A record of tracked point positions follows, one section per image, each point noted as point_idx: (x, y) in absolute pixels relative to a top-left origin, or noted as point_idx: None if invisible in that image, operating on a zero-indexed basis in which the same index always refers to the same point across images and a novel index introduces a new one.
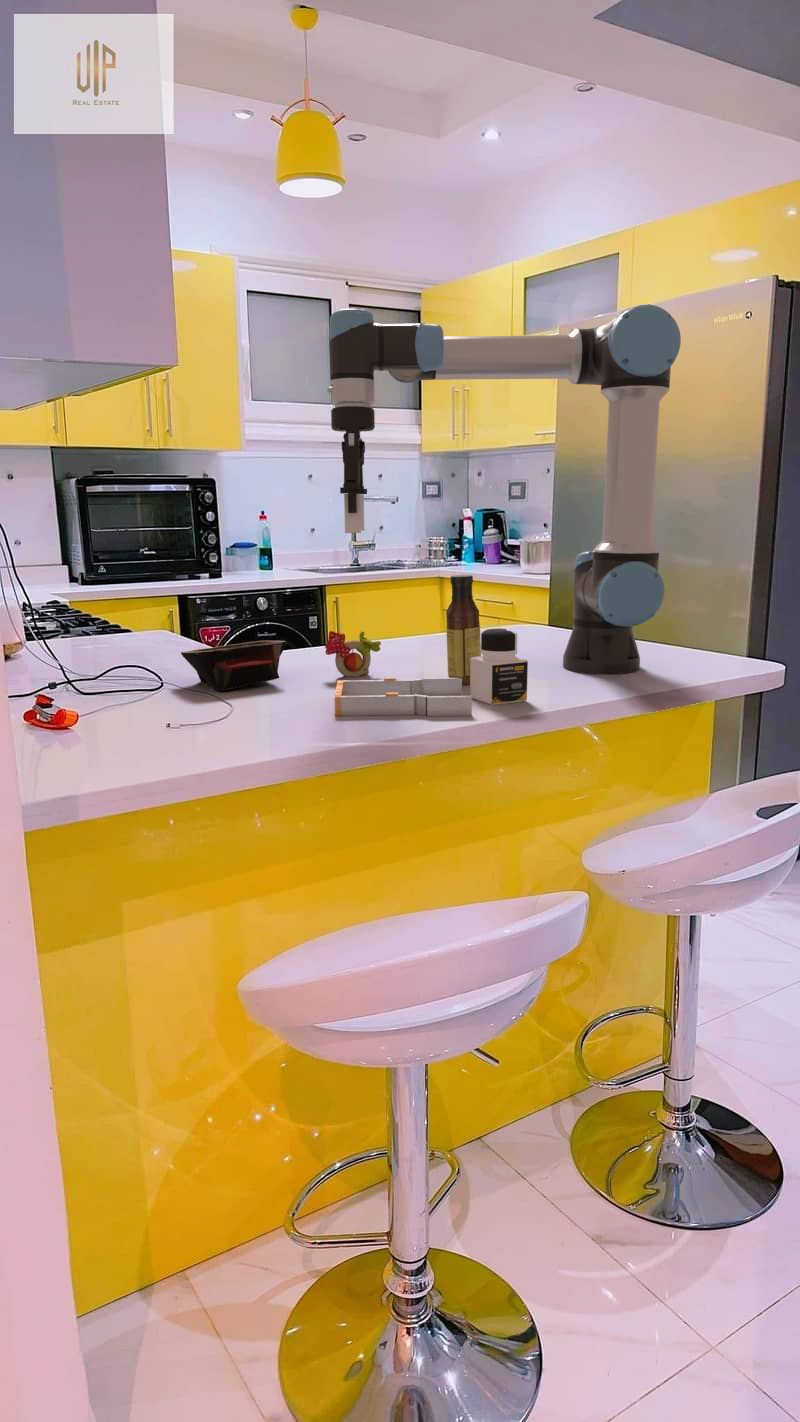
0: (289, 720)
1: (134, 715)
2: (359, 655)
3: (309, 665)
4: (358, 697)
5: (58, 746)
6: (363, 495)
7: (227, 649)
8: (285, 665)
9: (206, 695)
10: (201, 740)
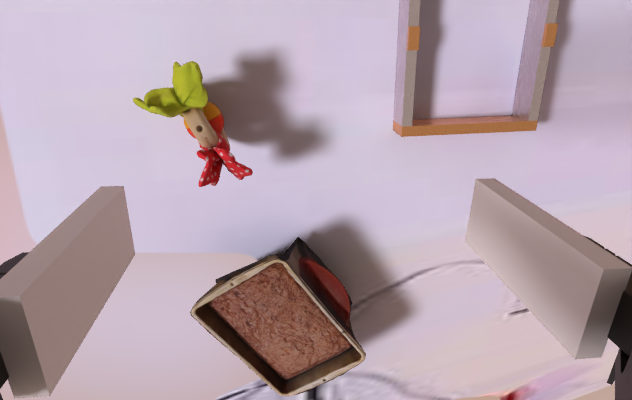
0: (529, 183)
1: (462, 357)
2: (204, 109)
3: None
4: (542, 92)
5: (581, 376)
6: (23, 291)
7: (348, 333)
8: None
9: (355, 313)
10: None
